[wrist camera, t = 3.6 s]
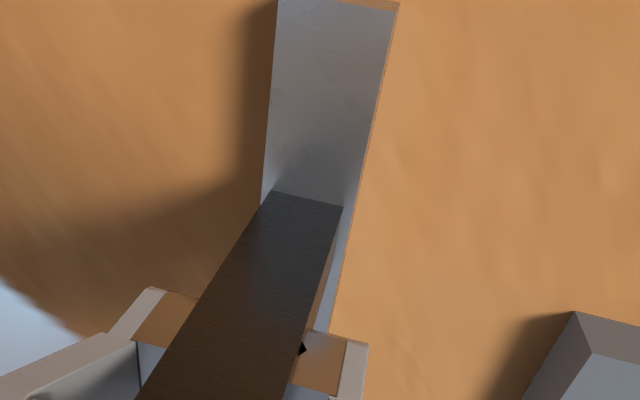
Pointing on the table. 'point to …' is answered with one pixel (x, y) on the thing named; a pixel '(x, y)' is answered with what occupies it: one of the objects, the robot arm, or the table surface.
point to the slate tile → (590, 362)
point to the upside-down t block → (289, 209)
